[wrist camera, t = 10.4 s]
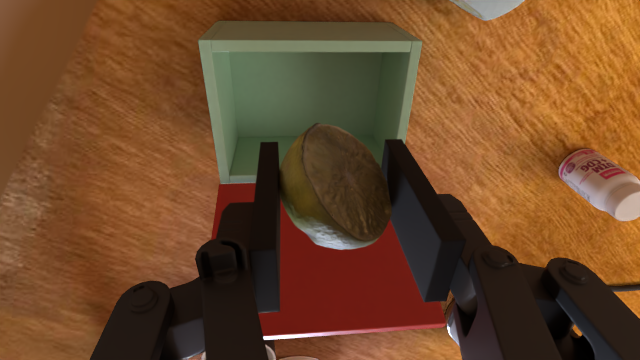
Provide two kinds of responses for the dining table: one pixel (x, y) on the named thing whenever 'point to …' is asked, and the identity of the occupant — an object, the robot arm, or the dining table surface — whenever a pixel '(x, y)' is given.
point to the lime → (334, 189)
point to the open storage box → (304, 85)
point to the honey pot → (298, 358)
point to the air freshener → (487, 7)
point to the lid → (338, 283)
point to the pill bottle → (602, 183)
